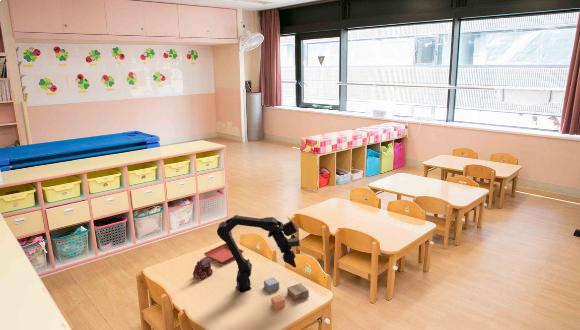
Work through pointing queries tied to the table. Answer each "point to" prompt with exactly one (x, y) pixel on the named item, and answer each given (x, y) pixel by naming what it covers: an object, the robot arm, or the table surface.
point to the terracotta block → (278, 302)
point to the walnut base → (298, 292)
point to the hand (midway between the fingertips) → (294, 263)
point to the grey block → (271, 284)
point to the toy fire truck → (203, 268)
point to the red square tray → (221, 254)
